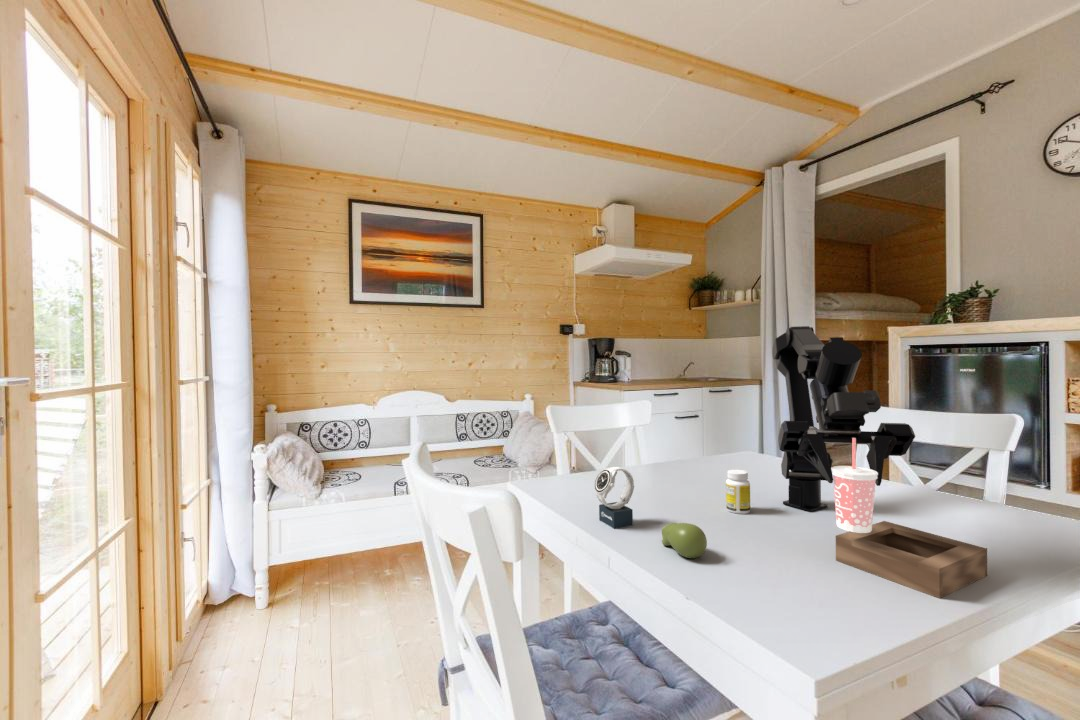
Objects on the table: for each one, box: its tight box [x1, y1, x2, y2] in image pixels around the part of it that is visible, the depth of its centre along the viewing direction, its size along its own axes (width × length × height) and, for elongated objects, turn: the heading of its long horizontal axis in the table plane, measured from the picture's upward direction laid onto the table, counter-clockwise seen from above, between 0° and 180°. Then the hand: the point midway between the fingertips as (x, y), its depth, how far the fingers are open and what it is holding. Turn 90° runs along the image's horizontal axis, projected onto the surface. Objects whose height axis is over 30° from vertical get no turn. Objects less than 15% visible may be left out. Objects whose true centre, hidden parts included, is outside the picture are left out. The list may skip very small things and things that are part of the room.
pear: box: [661, 522, 708, 559], centre depth 83 cm, size 6×5×10 cm
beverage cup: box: [831, 438, 878, 533], centre depth 75 cm, size 6×6×14 cm
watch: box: [594, 466, 635, 530], centre depth 97 cm, size 6×8×11 cm
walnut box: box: [835, 520, 988, 599], centre depth 75 cm, size 14×14×4 cm
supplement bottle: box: [725, 469, 751, 515], centre depth 103 cm, size 5×5×8 cm
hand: (854, 483), depth 75 cm, fingers closed on beverage cup, 6 cm apart
